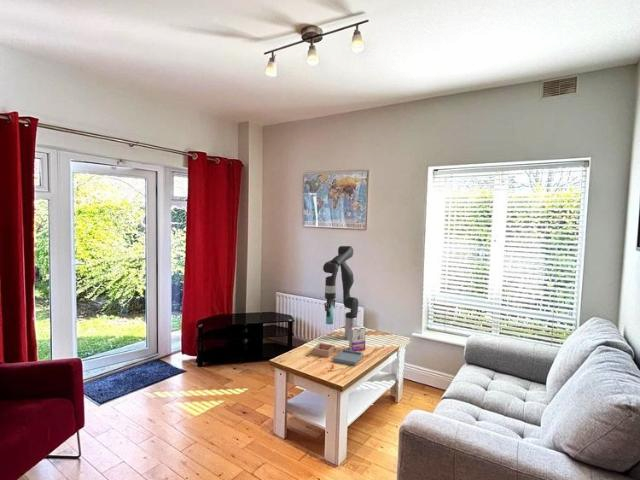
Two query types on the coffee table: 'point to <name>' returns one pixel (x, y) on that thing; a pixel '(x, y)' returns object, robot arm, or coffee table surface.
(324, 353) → the tan square open box
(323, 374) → the coffee table surface
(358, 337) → the candy bar box
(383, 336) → the coffee table surface
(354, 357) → the tray
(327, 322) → the teal peg
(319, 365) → the coffee table surface
